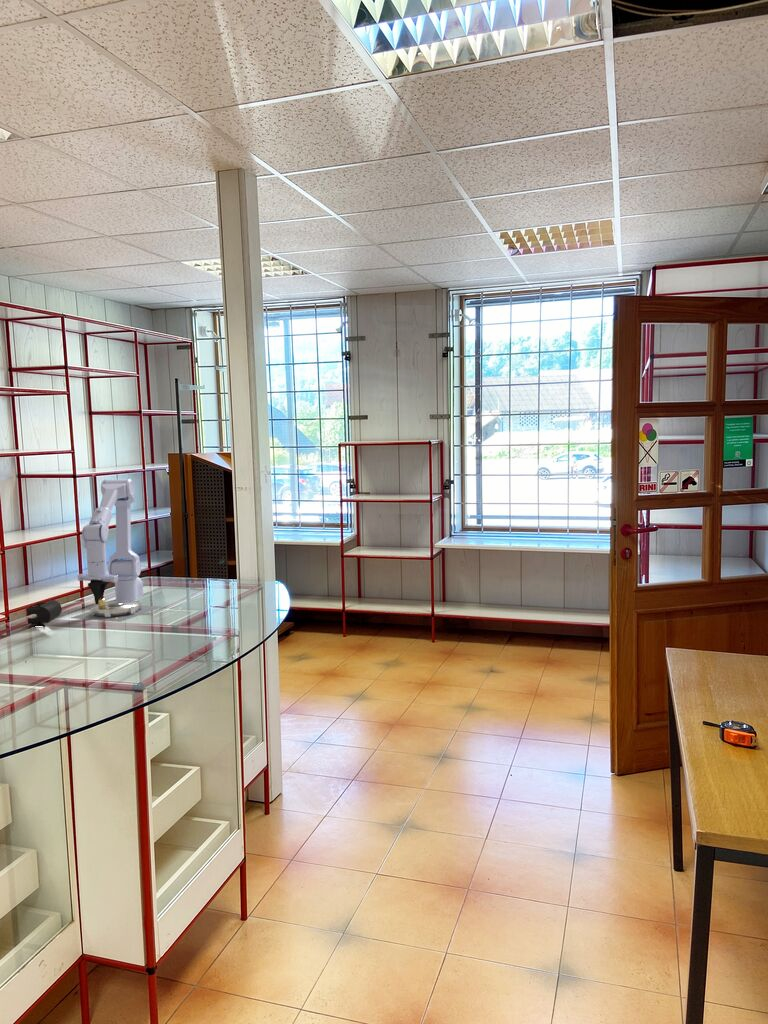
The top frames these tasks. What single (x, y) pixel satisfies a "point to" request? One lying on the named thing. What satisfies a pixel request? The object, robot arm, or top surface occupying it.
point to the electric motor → (43, 612)
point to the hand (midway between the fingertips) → (99, 603)
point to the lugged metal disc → (115, 608)
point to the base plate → (115, 618)
